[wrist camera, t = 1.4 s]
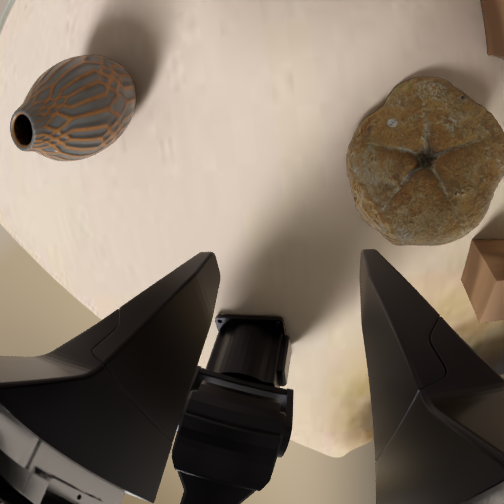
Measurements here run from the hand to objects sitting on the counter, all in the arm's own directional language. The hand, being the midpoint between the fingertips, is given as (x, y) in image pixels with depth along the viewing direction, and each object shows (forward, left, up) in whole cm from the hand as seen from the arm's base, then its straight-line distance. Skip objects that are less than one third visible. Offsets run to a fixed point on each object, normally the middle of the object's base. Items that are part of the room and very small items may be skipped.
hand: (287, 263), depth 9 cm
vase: (-13, +6, -12) cm, 19 cm away
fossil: (+7, 0, -12) cm, 14 cm away
